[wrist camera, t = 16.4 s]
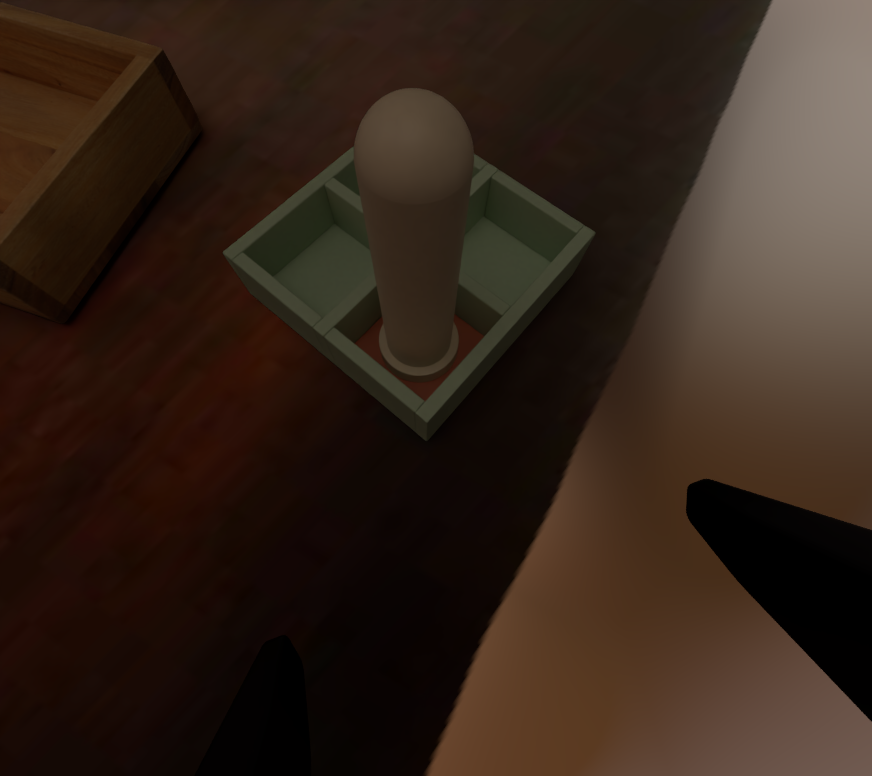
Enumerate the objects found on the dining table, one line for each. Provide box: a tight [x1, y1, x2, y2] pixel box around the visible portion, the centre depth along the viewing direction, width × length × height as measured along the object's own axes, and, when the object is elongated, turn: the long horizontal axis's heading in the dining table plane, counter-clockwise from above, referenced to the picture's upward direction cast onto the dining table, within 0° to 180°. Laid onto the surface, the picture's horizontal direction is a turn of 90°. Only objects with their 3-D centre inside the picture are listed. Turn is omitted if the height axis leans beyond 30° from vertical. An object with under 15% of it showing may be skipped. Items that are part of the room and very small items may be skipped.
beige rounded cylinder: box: [354, 88, 474, 382], centre depth 17 cm, size 4×4×13 cm
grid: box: [223, 146, 595, 441], centre depth 24 cm, size 13×13×4 cm
